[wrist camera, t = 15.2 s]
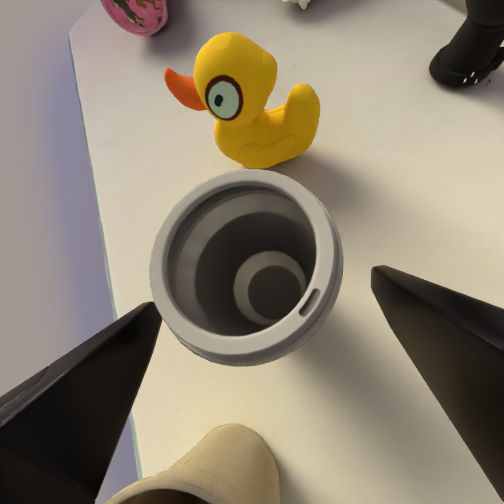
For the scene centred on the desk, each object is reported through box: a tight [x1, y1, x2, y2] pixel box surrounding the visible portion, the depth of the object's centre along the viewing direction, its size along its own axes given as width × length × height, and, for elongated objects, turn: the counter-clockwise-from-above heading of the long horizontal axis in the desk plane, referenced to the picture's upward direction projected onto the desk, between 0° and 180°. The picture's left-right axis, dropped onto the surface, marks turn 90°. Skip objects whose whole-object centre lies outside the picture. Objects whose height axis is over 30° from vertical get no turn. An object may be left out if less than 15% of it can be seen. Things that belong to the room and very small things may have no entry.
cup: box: [149, 169, 343, 367], centre depth 12 cm, size 7×7×12 cm
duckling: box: [164, 32, 320, 169], centre depth 17 cm, size 11×5×10 cm, turn 83°
